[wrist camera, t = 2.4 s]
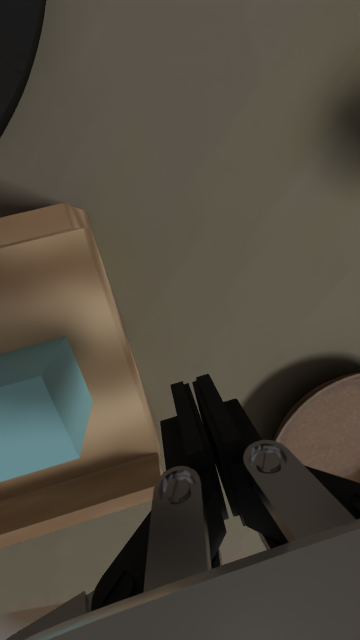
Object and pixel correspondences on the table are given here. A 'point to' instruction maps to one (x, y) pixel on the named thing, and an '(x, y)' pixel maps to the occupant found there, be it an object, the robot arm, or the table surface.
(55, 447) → the teal block
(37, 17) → the fan shaped piece
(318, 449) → the saucer
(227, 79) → the table surface
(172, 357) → the table surface
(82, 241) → the box
